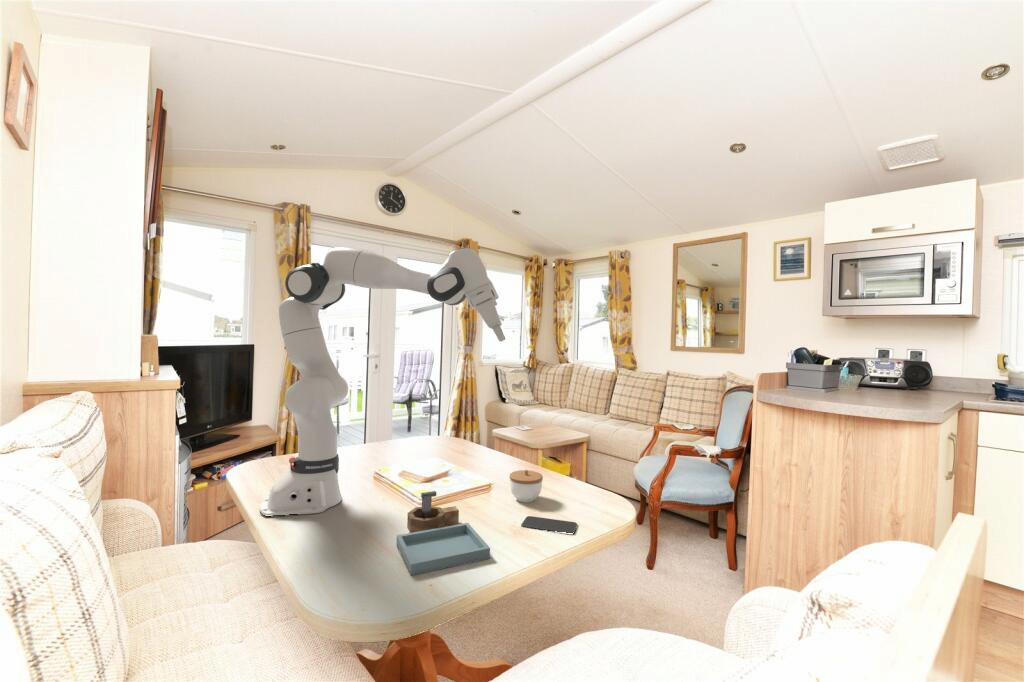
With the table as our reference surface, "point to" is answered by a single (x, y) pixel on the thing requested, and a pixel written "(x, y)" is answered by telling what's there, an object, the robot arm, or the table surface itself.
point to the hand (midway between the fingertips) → (502, 340)
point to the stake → (427, 503)
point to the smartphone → (549, 524)
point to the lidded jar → (525, 485)
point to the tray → (441, 548)
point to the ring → (432, 518)
